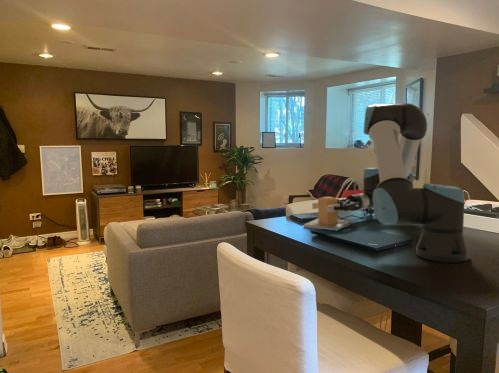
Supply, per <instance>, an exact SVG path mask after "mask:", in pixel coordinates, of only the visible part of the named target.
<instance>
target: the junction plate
mask: <svg viewBox="0 0 499 373" xmlns="http://www.w3.org/2000/svg"><path fill="white" fill-rule="evenodd" d="M346 225H349V226H351V225H352V220H344V219H338V223H335V224H329V225H326V224H323V223H319V220H318V218H316V219H314V220H311V221H308V222H307V223H306V222H305V223H304V224H303V228H304V229H311V230H312V229H313V230H319V228H336V227H337V228H340V227H342V226H346Z"/></svg>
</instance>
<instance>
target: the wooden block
mask: <svg viewBox="0 0 499 373" xmlns="http://www.w3.org/2000/svg"><path fill="white" fill-rule="evenodd" d="M338 199H339V198H336V197H334V196H322V197H319V198H318V201H317V202H318V208H317V209H318V211H317V212H318V218H317V219H318V220H319V223H323V224H326V225H329V224H335V223H338V220H339V216H338V215H339V214H338V212H339V211H333V212H327V206H329V205H336V204H338Z"/></svg>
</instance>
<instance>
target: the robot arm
mask: <svg viewBox="0 0 499 373" xmlns="http://www.w3.org/2000/svg"><path fill="white" fill-rule="evenodd" d="M363 123H364V124H363V134H364V135H366V136H368V137H369V139H370V140H371V141H372V142H373V144H374V150H375V156H376V157H375V158H376V164H377V167H365V168H364V169H363V178H362V179H363V180H362V181H363V190H362V191H363V193H356V194H349V195H347V197H346V198H342V199H339V198H337V199H338V204H336V205H329V206H327V212H333V211H338V212H339V211H344V212H348V211H350V212H351V211H352V212H354V211H359V210H360V211H363V210H366V209H373V211H374V214H375V217H376V219H377V220H378V222H379V223H382V224H389V225H402V224H403V225H422V230H421V234H420V237H419V238H418V242H417V244H416V247H415V250H416V251H415V252H416V255H417V256H418V257H420V258H423V259H424V260H429V261H433V262H440V263H452V264H454V263H455V264H456V263H464V262H466V261H468V260H469V259H470V258H469V256H470V255H469V254H470V253H469V247H468V246H467V242H466V239H465V236H464V222H465V220H464V219H465V218H464V217H465V204H466V202H465V193H464V190H463V189H462V188H460V187H457V186H452V185H447V184H446V185H445V184H438V183H424V184H423V186H422V187H421V188H419V187H414V173H413V171H412V168H413V165H414V161H415V160H416V155H417V153H418V149H419V146H420V144H421V141H422V139H424V138H425V136H426V133H427V130H428V121H427V118H426V115H425V114H424V112H423V111H422V109H420V108H419V106H416V105H415V104H413V103H408V102H405V103H404V102H403V103H376V104H370V105H367V106H366V108H365V113H364V122H363ZM400 135H401V137H400V140H399V136H400ZM311 204H312V207H311V208H312V210H316V209H318V201H316V202H312V203H311Z"/></svg>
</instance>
